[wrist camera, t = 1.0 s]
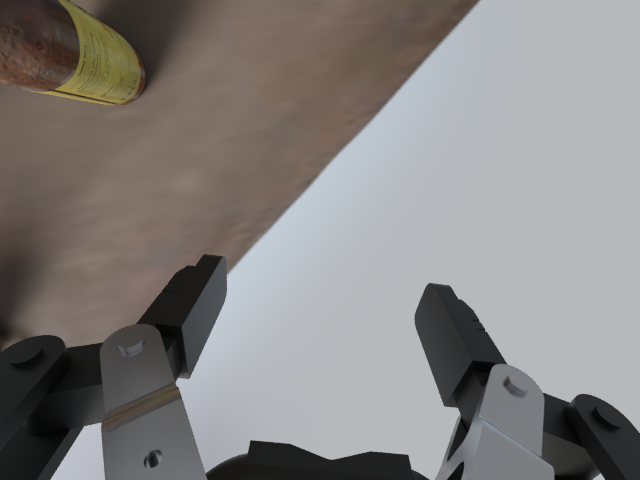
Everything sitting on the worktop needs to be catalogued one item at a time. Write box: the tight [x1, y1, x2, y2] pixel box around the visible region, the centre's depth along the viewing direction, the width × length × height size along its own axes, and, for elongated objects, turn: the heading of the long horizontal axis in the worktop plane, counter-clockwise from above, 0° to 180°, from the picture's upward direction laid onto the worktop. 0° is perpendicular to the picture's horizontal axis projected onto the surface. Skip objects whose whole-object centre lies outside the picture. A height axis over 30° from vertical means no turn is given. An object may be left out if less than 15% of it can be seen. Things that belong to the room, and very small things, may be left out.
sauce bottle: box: [0, 0, 146, 105], centre depth 17 cm, size 7×6×20 cm
